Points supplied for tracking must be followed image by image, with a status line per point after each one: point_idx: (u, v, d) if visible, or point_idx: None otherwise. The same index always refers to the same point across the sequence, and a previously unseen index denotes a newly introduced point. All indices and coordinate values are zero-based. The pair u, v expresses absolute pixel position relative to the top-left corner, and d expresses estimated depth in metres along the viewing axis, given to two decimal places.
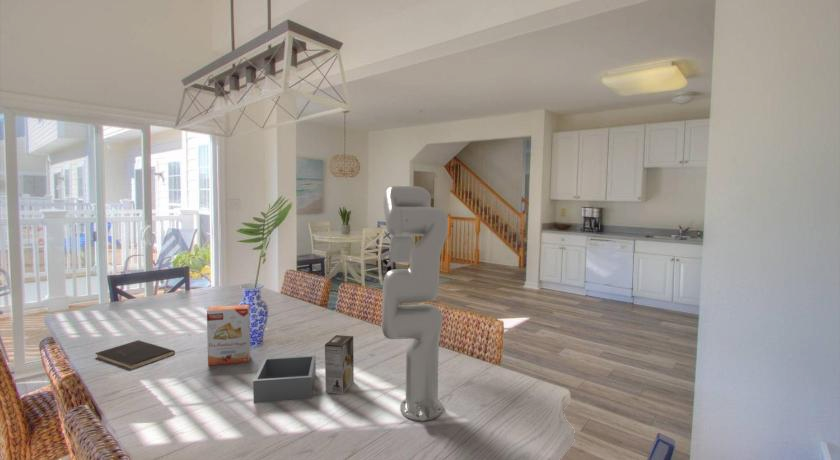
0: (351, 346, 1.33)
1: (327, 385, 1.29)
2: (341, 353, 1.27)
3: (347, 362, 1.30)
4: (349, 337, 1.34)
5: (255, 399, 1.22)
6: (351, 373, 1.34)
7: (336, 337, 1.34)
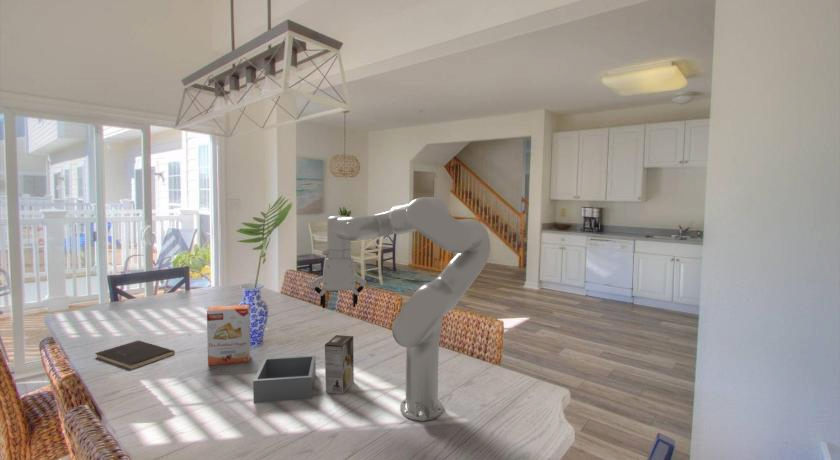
0: (351, 346, 1.33)
1: (327, 385, 1.29)
2: (341, 353, 1.27)
3: (347, 362, 1.30)
4: (349, 337, 1.34)
5: (255, 399, 1.22)
6: (351, 373, 1.34)
7: (336, 337, 1.34)
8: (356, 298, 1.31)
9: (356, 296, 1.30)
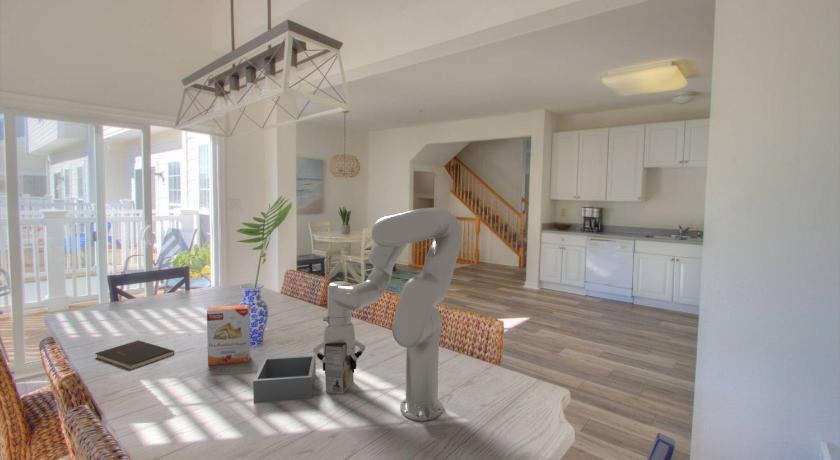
0: None
1: (327, 385, 1.29)
2: (341, 353, 1.27)
3: (347, 361, 1.30)
4: None
5: (255, 399, 1.22)
6: (351, 373, 1.34)
7: None
8: (355, 363, 1.32)
9: (355, 361, 1.32)
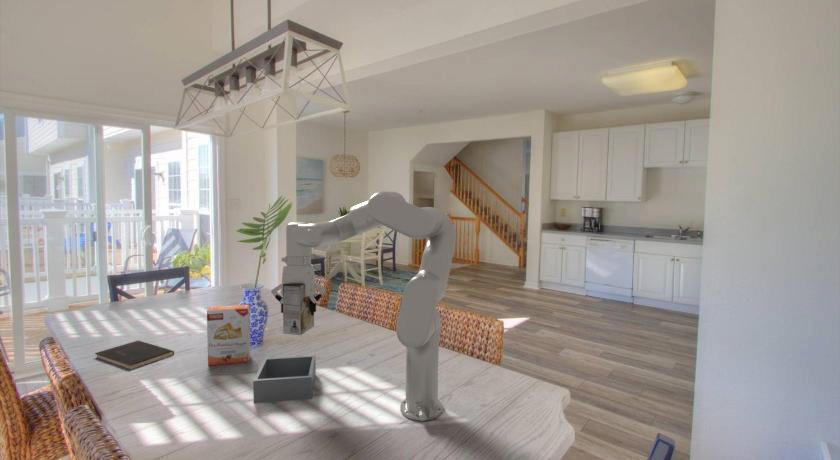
0: None
1: (285, 326, 1.26)
2: (299, 293, 1.24)
3: (306, 303, 1.28)
4: None
5: (255, 399, 1.22)
6: (311, 317, 1.32)
7: None
8: (314, 306, 1.30)
9: (314, 304, 1.30)
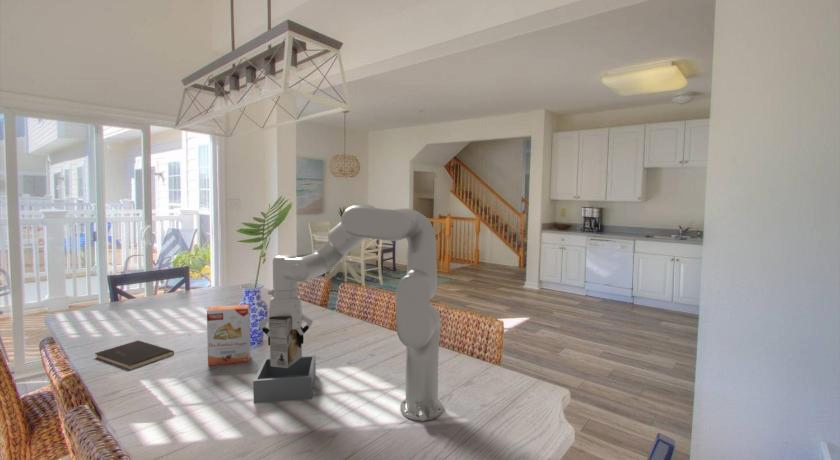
0: None
1: (272, 359, 1.27)
2: (285, 326, 1.25)
3: (293, 335, 1.28)
4: None
5: (255, 399, 1.22)
6: (298, 348, 1.32)
7: None
8: (301, 338, 1.30)
9: (301, 336, 1.30)
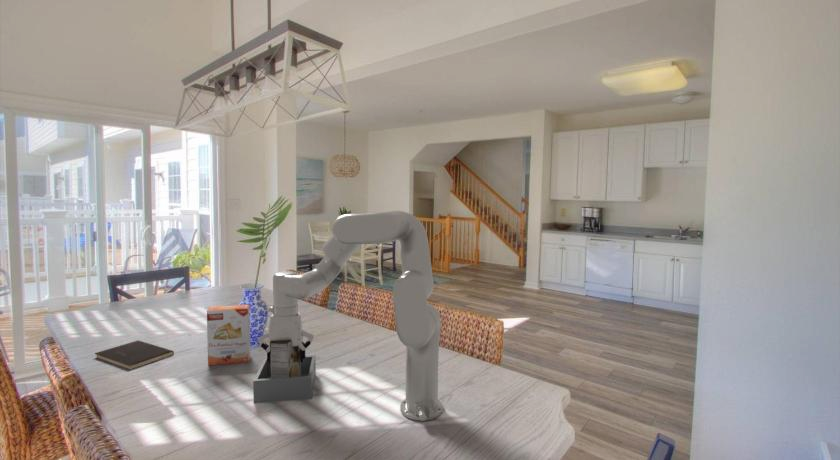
0: None
1: None
2: (286, 350, 1.26)
3: (293, 359, 1.29)
4: None
5: (255, 399, 1.22)
6: (298, 370, 1.33)
7: None
8: (303, 353, 1.31)
9: (303, 351, 1.31)
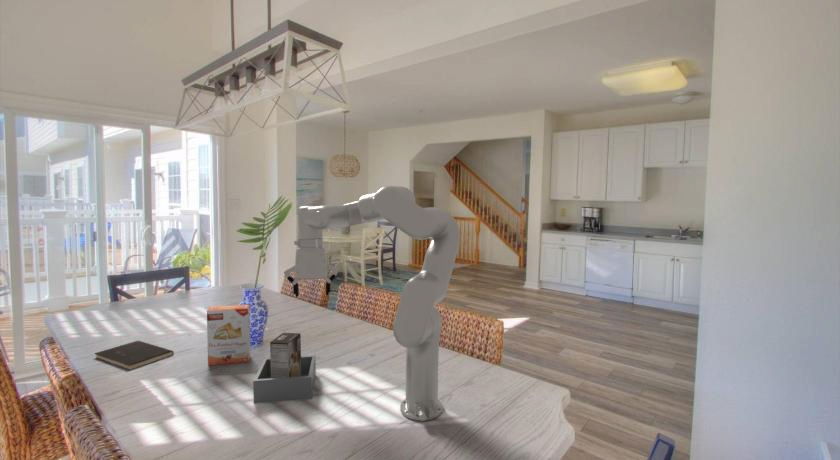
0: (298, 343, 1.32)
1: None
2: (287, 350, 1.26)
3: (293, 359, 1.29)
4: (296, 334, 1.33)
5: (255, 399, 1.22)
6: (298, 371, 1.33)
7: (282, 335, 1.32)
8: (329, 286, 1.33)
9: (329, 284, 1.33)
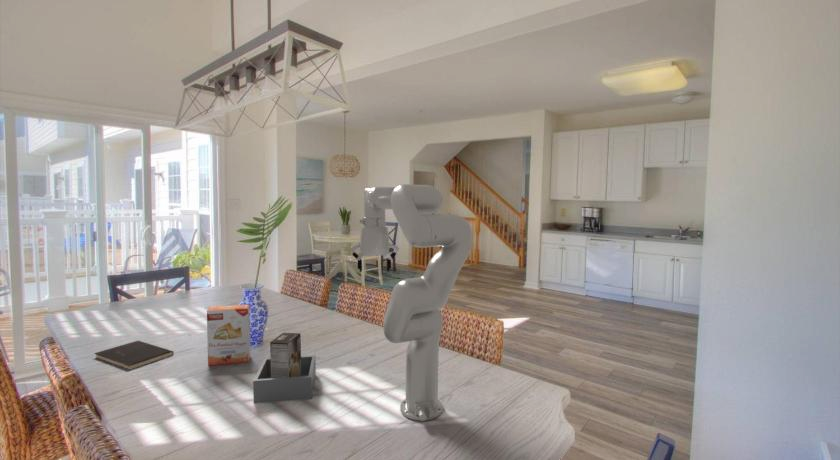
0: (298, 343, 1.32)
1: None
2: (287, 350, 1.26)
3: (293, 359, 1.29)
4: (296, 334, 1.33)
5: (255, 399, 1.22)
6: (298, 371, 1.33)
7: (282, 335, 1.32)
8: (390, 263, 1.44)
9: (390, 261, 1.44)
